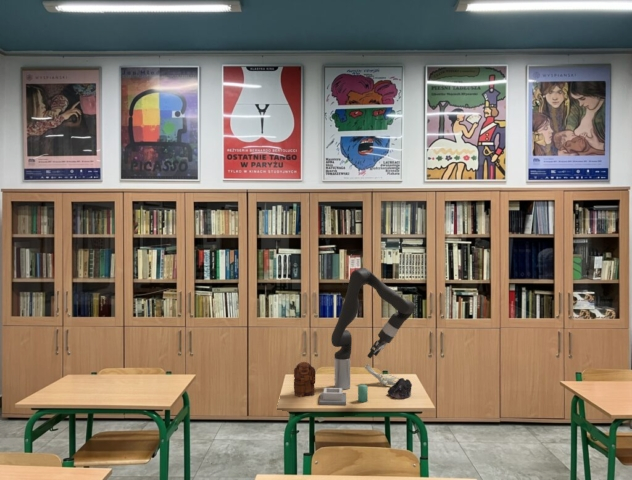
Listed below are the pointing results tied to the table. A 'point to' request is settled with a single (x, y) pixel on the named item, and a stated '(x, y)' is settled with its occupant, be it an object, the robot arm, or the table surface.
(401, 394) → the crystal cluster
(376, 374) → the skeletal model
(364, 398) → the green cap
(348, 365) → the robot arm
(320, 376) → the table surface
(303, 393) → the wooden figurine
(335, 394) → the socket board
